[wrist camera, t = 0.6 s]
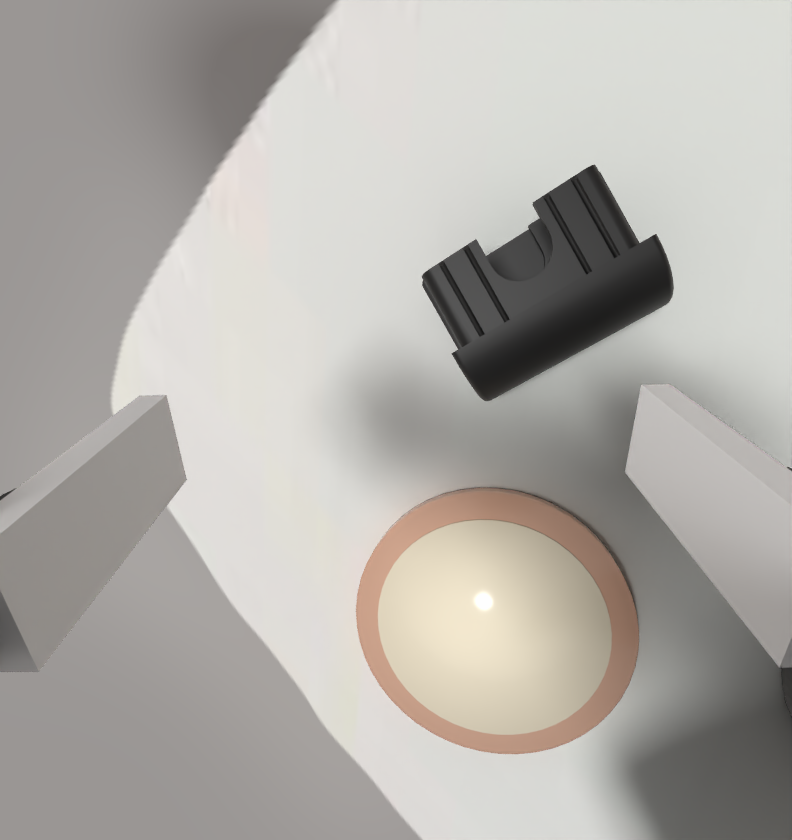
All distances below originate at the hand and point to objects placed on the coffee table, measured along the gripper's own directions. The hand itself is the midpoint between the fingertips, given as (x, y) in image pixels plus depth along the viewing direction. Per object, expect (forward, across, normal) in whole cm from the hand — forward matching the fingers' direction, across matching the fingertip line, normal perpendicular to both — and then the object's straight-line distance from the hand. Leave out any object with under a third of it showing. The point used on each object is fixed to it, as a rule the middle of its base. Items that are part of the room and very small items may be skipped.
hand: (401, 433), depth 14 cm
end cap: (+17, -8, 0) cm, 18 cm away
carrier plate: (+11, -5, +19) cm, 22 cm away
